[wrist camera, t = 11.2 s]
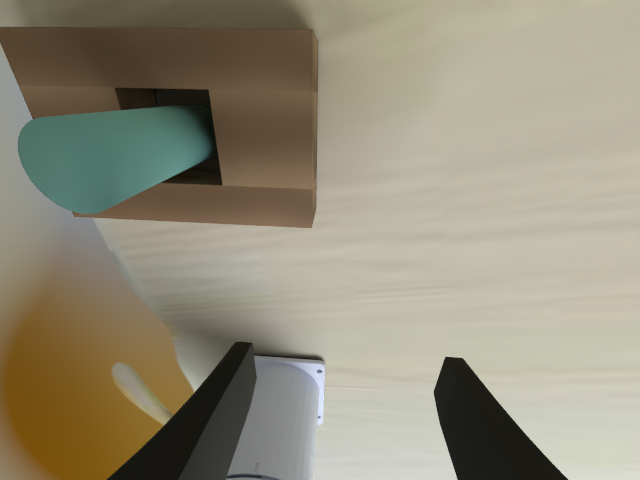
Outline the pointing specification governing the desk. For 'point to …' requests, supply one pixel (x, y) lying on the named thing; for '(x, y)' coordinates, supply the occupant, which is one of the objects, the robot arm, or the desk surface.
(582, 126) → the desk surface
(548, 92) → the desk surface
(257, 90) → the hole block
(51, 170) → the peg
